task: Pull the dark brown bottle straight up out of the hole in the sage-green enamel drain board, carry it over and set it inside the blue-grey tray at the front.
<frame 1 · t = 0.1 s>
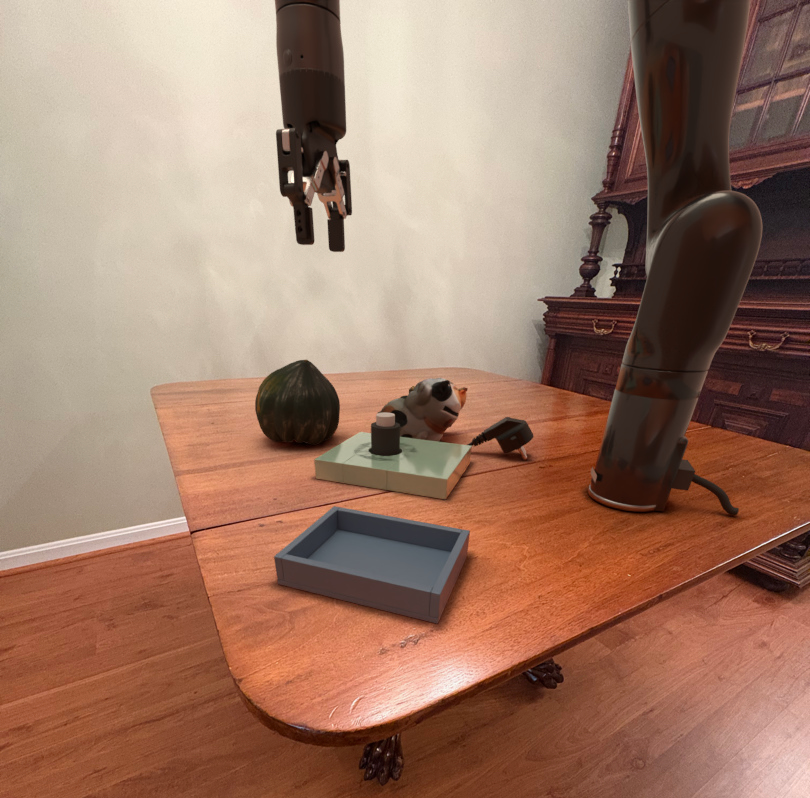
hand: (322, 248, 57), 29 cm above the table, tool pointing down, fingers open, 8 cm apart
squash: (302, 441, 80), on the table
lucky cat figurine: (421, 438, 83), on the table
power plug: (493, 456, 75), on the table
dark brown bottle: (385, 468, 67), resting in drain board
drain board: (397, 470, 67), on the table
blue-grey tray: (378, 569, 42), on the table
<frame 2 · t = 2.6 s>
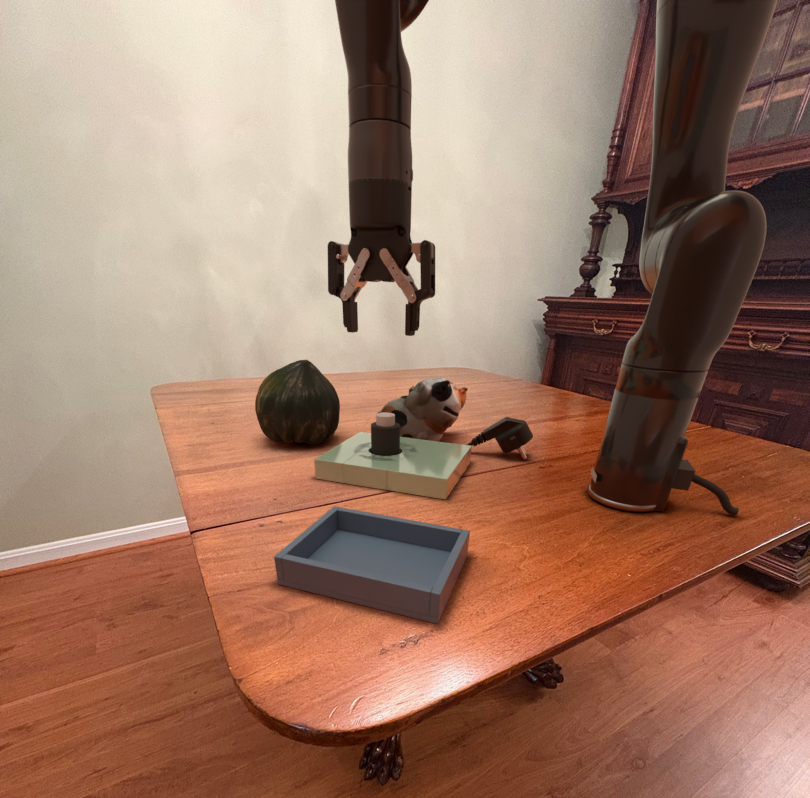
hand: (380, 333, 58), 19 cm above the table, tool pointing down, fingers open, 8 cm apart
nothing on the table moved.
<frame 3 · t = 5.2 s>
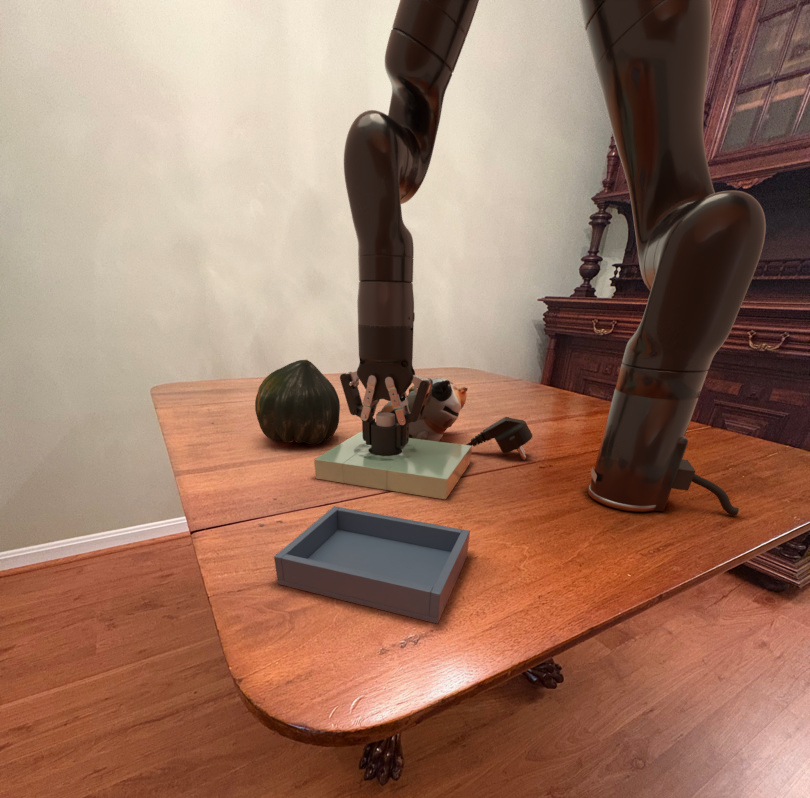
hand: (385, 445, 65), 4 cm above the table, tool pointing down, fingers closed on dark brown bottle, 4 cm apart
dark brown bottle: (385, 468, 67), resting in drain board, touching gripper
everything else where it was.
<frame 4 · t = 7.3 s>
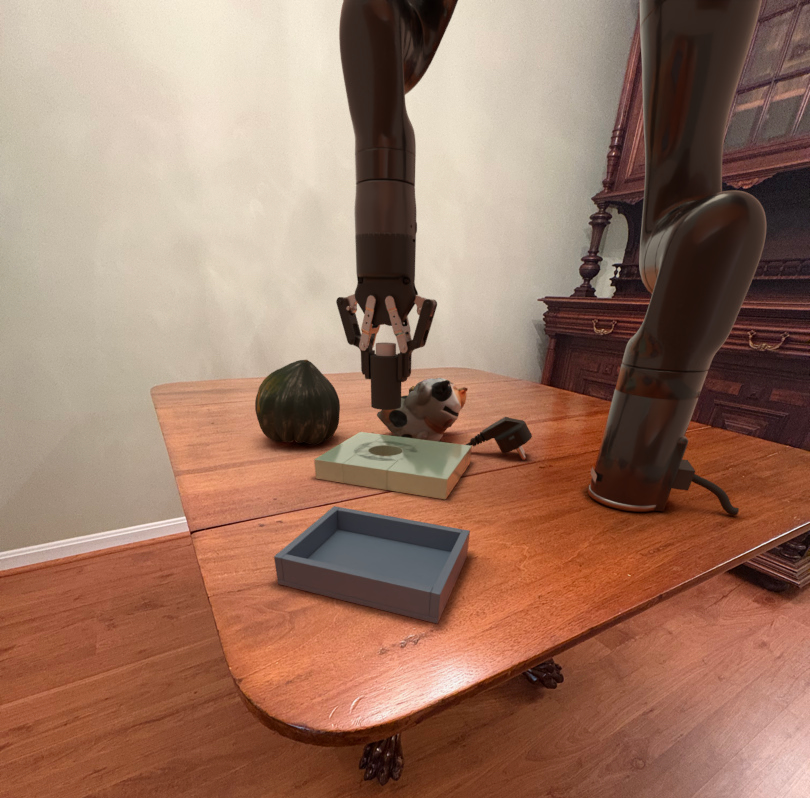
hand: (386, 379, 61), 13 cm above the table, tool pointing down, fingers closed on dark brown bottle, 4 cm apart
dark brown bottle: (386, 406, 63), point 10 cm above the table, touching gripper
everything else where it was.
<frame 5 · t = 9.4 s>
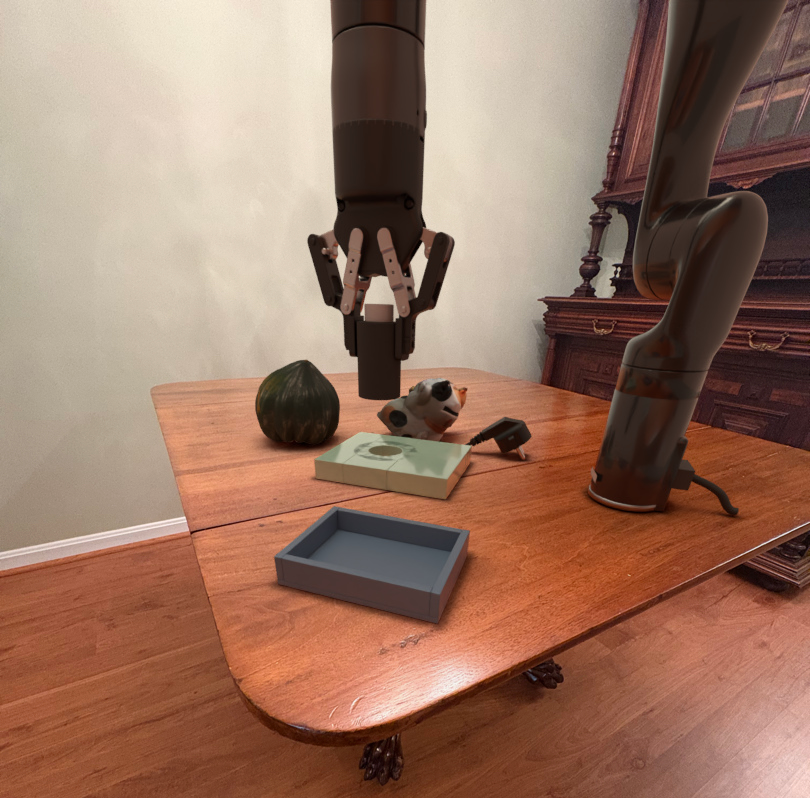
hand: (379, 357, 43), 18 cm above the table, tool pointing down, fingers closed on dark brown bottle, 4 cm apart
dark brown bottle: (379, 396, 45), point 15 cm above the table, touching gripper
everything else where it was.
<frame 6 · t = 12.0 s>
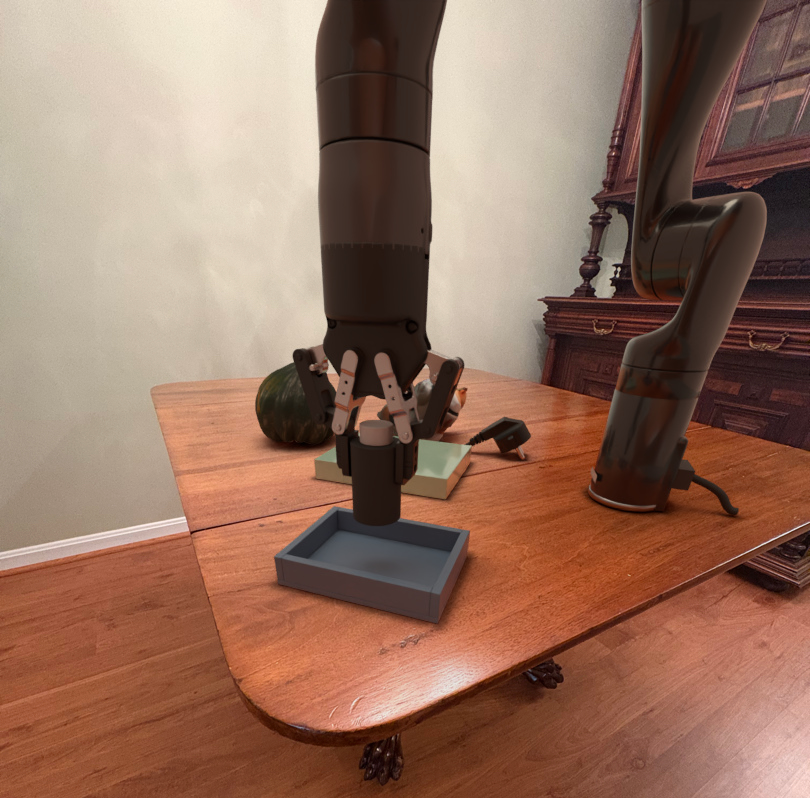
hand: (376, 476, 38), 10 cm above the table, tool pointing down, fingers closed on dark brown bottle, 4 cm apart
dark brown bottle: (376, 515, 39), point 6 cm above the table, touching gripper
everything else where it was.
when the fingers open (4 cm above the table, at t = 13.8 s): dark brown bottle stays where it is, resting on blue-grey tray.
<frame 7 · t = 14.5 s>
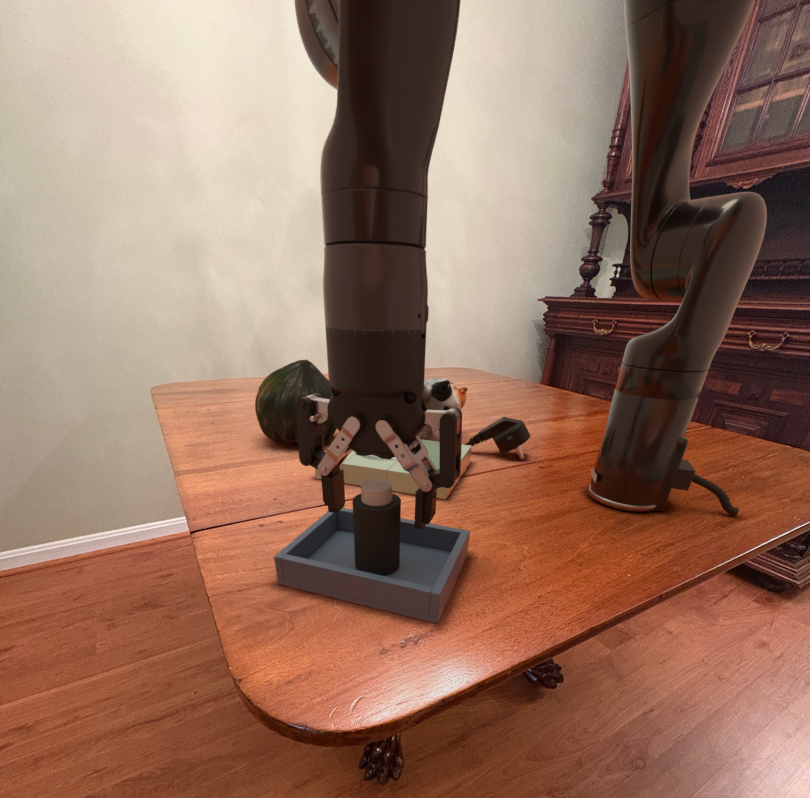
hand: (378, 517, 40), 6 cm above the table, tool pointing down, fingers open, 8 cm apart
dark brown bottle: (377, 564, 42), point 1 cm above the table, touching blue-grey tray
everything else where it was.
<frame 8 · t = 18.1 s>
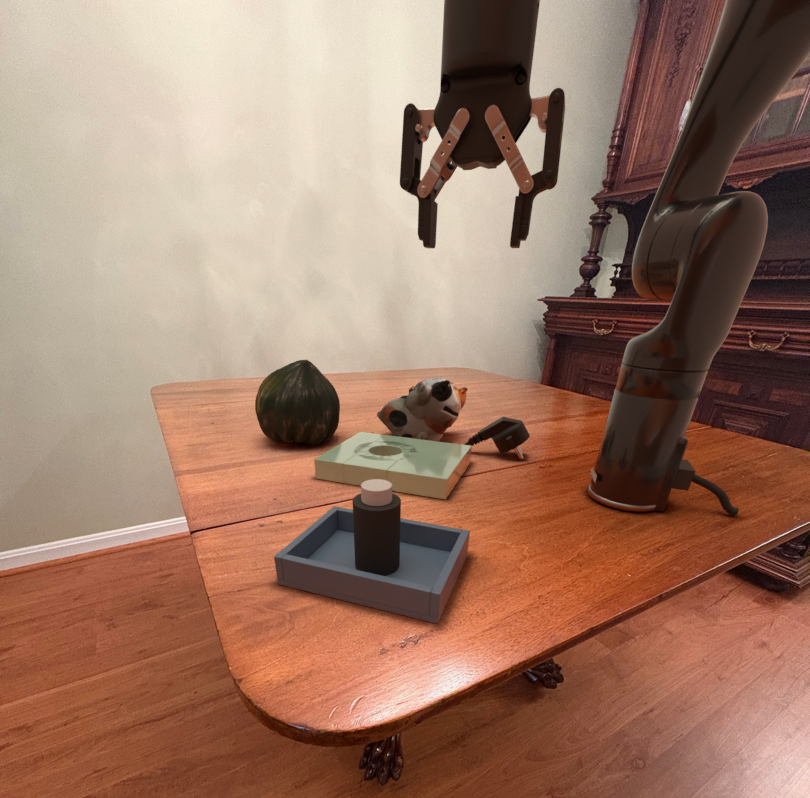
hand: (471, 247, 42), 28 cm above the table, tool pointing down, fingers open, 8 cm apart
nothing on the table moved.
at the end: dark brown bottle inside the target area in the blue-grey tray (0.1 cm from its centre), point 0.6 cm above the blue-grey tray's base; the gripper is holding nothing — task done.
